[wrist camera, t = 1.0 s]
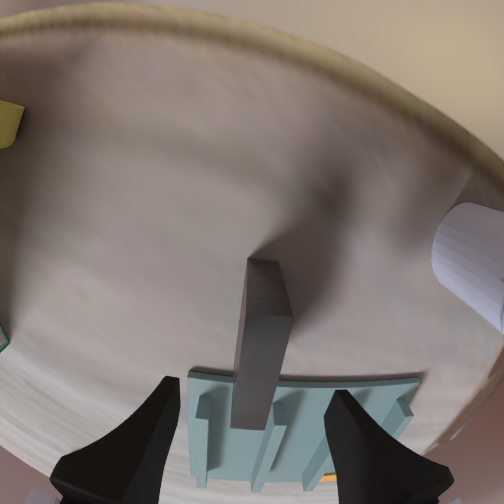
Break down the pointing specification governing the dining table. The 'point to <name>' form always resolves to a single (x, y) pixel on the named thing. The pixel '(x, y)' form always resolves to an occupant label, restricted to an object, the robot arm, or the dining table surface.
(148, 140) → the dining table surface
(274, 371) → the panel
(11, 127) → the plastic component
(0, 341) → the milk carton
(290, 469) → the slot rack
